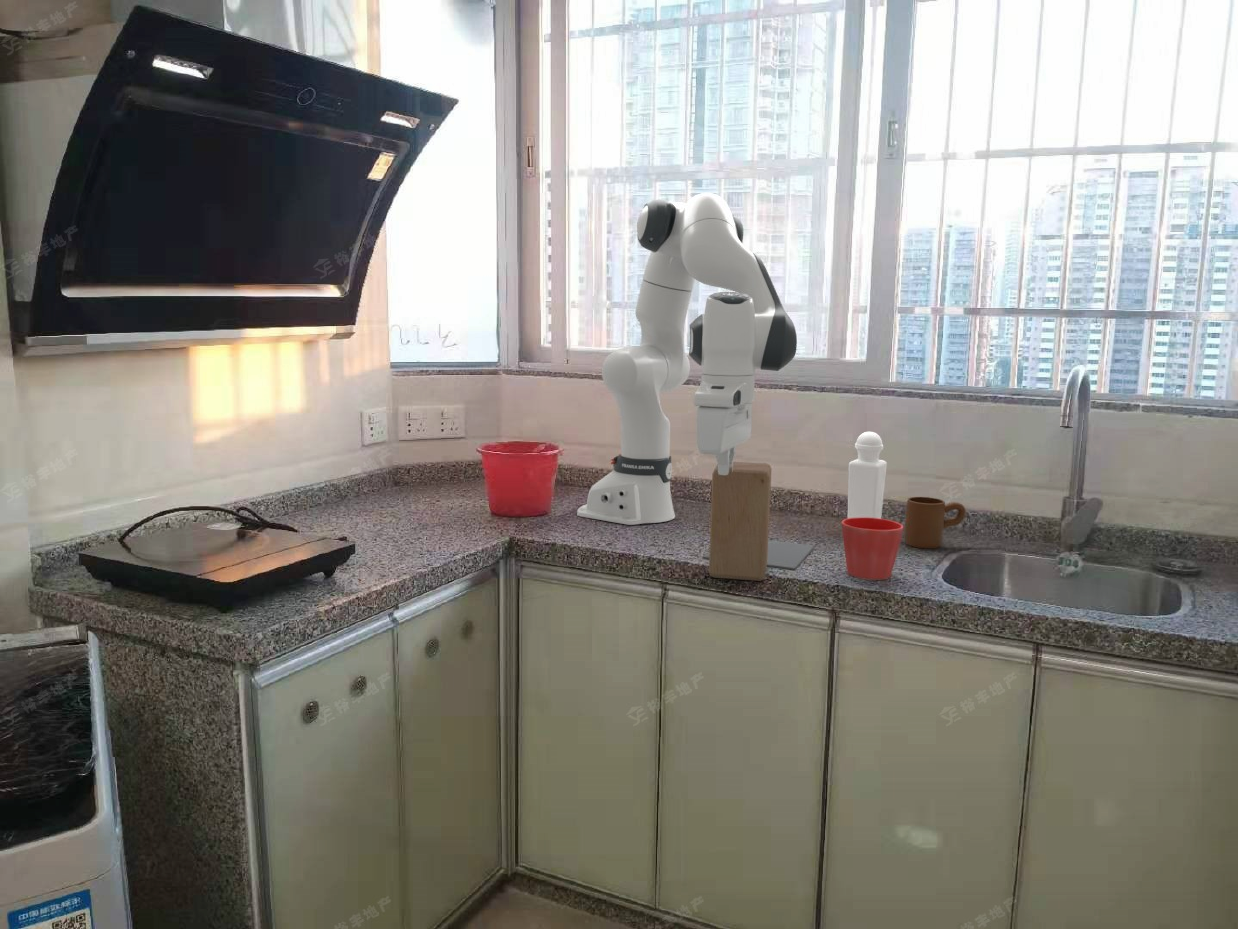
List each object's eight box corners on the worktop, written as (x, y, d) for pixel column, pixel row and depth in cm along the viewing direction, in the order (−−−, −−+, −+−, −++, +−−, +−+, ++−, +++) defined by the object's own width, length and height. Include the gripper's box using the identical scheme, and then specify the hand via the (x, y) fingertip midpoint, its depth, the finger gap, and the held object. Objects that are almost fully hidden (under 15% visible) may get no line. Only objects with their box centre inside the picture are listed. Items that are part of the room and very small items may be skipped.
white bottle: (873, 536, 203) (880, 434, 199) (844, 532, 206) (850, 431, 202) (882, 530, 208) (889, 431, 204) (853, 526, 211) (859, 428, 208)
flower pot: (854, 562, 182) (857, 513, 181) (909, 574, 175) (912, 523, 174) (828, 574, 174) (831, 523, 172) (884, 587, 167) (888, 533, 166)
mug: (957, 541, 200) (960, 497, 199) (968, 550, 193) (972, 505, 191) (899, 539, 201) (902, 495, 199) (908, 548, 193) (912, 503, 192)
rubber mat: (702, 558, 183) (702, 556, 183) (728, 537, 200) (729, 535, 200) (794, 570, 177) (794, 568, 177) (814, 547, 193) (814, 545, 193)
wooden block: (764, 583, 168) (769, 472, 165) (708, 578, 170) (711, 469, 167) (767, 567, 178) (771, 462, 174) (713, 563, 180) (717, 459, 176)
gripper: (726, 385, 168) (724, 463, 170) (690, 396, 149) (688, 482, 152) (761, 387, 166) (759, 465, 168) (729, 397, 147) (726, 485, 149)
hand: (725, 473), depth 160 cm, fingers closed
